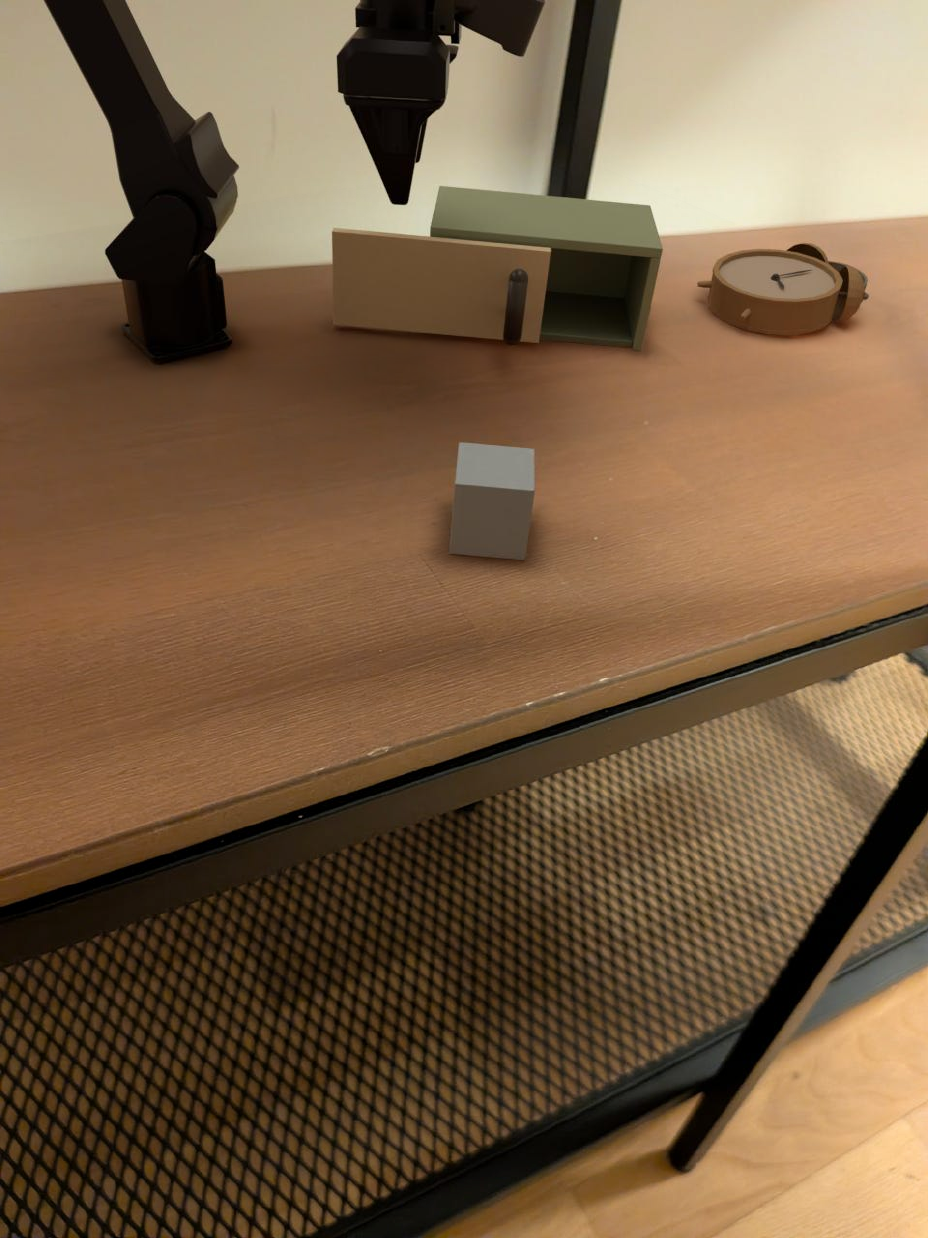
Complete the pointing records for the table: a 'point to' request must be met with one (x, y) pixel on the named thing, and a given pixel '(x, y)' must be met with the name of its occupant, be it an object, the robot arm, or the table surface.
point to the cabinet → (570, 257)
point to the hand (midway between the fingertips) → (406, 181)
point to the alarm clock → (784, 290)
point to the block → (492, 501)
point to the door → (439, 285)
